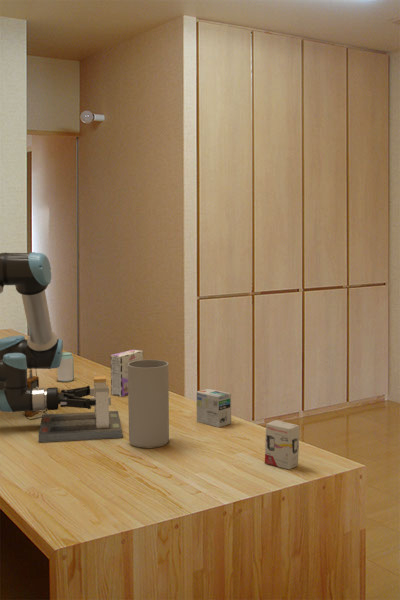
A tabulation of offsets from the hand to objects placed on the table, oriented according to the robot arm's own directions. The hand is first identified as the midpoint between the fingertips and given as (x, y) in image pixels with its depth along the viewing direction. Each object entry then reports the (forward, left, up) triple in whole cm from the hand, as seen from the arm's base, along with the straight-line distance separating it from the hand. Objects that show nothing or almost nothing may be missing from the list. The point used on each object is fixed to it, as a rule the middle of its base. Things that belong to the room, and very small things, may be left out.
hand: (110, 396), depth 238 cm
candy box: (-42, +9, -10) cm, 44 cm away
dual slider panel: (+6, -10, -10) cm, 15 cm away
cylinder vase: (+23, +11, -10) cm, 27 cm away
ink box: (+50, +46, -10) cm, 69 cm away
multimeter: (-16, -24, -10) cm, 30 cm away
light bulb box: (+6, +35, -10) cm, 37 cm away
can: (-68, -16, -10) cm, 71 cm away
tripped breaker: (0, -3, -7) cm, 8 cm away
